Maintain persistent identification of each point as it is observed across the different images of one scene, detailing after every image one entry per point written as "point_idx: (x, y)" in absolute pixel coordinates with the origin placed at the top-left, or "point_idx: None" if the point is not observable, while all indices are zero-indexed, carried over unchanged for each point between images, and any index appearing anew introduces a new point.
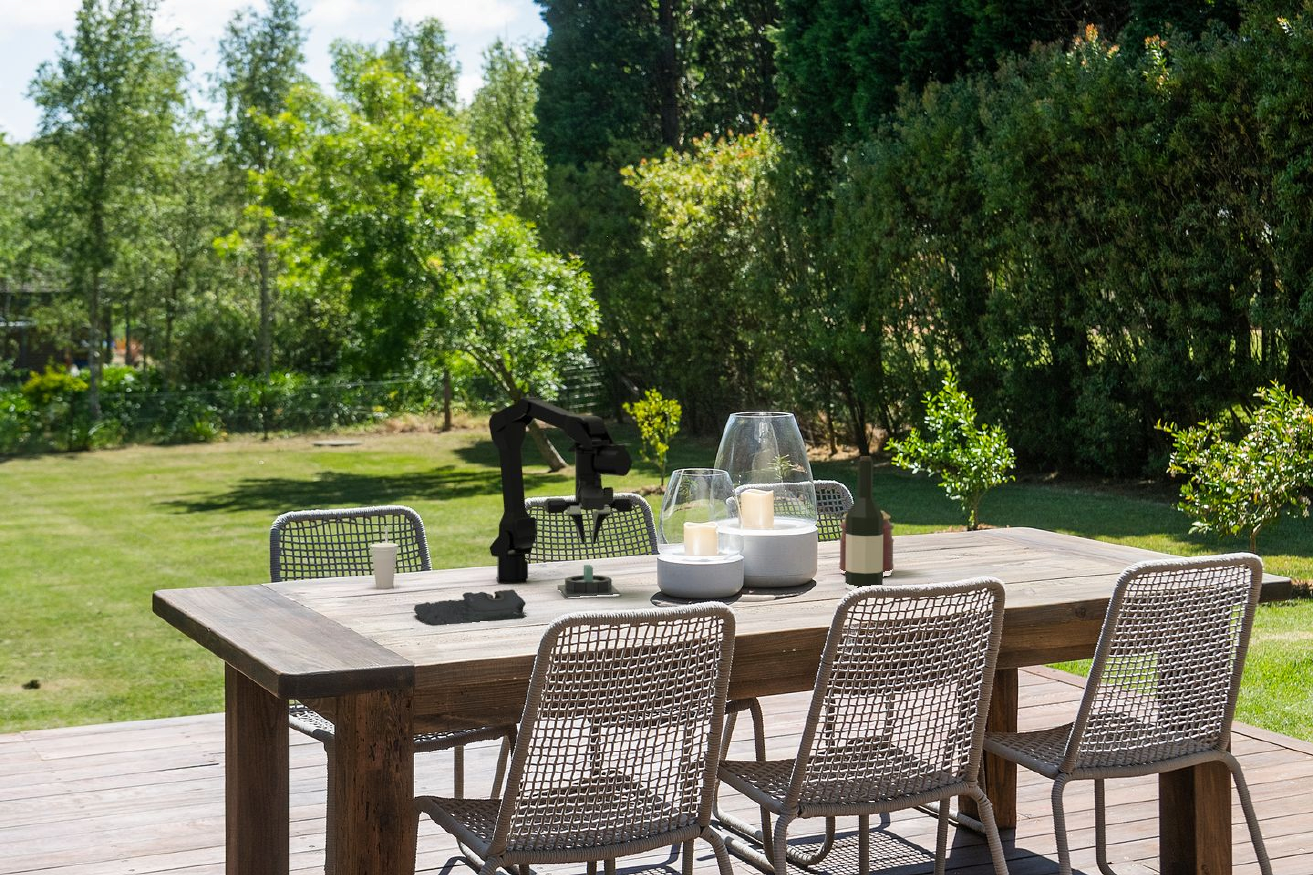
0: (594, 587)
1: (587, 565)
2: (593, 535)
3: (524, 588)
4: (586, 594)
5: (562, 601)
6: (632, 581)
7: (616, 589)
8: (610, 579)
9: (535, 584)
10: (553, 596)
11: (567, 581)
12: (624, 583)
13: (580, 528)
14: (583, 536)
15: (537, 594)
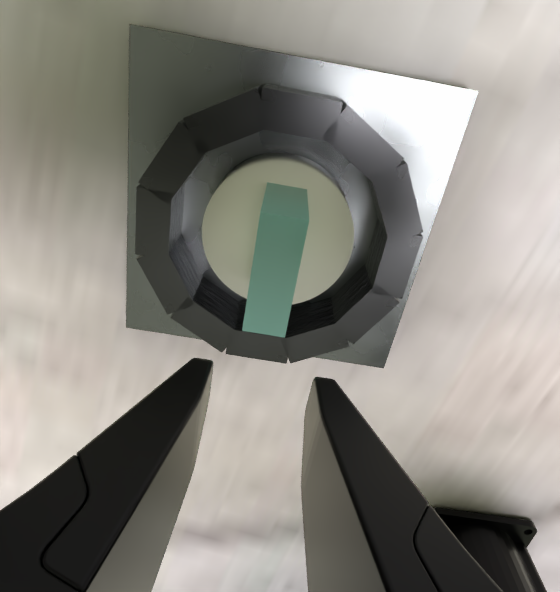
0: (286, 89)
1: (266, 313)
2: (191, 429)
3: (495, 422)
4: (347, 66)
5: (526, 11)
6: (8, 411)
7: (130, 141)
8: (147, 171)
9: (411, 476)
10: (485, 197)
11: (420, 228)
12: (49, 384)
13: (411, 521)
14: (336, 426)
15: (526, 279)
